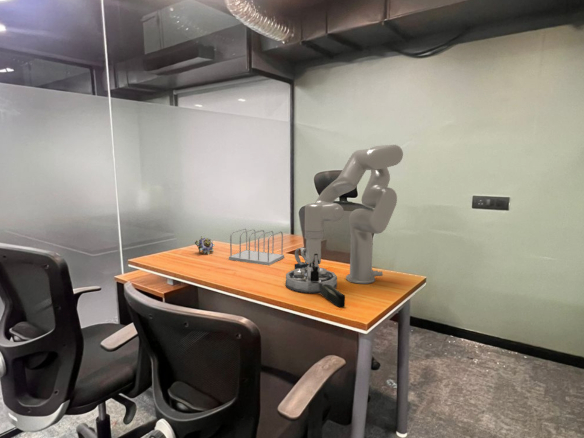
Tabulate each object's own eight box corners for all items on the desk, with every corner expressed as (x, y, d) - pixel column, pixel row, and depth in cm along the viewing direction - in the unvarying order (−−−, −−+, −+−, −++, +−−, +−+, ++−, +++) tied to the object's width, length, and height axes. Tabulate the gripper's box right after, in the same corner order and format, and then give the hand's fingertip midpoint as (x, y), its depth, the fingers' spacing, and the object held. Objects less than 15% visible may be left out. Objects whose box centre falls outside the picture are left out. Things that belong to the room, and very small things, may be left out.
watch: (304, 273, 164) (304, 250, 162) (291, 269, 169) (292, 247, 168) (311, 270, 168) (312, 248, 166) (299, 267, 173) (299, 245, 172)
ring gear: (330, 274, 158) (330, 267, 158) (341, 289, 137) (341, 282, 137) (284, 275, 156) (284, 268, 155) (288, 291, 135) (288, 283, 135)
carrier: (330, 276, 159) (330, 263, 158) (342, 292, 137) (342, 277, 136) (283, 277, 156) (283, 264, 155) (287, 294, 135) (288, 279, 134)
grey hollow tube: (319, 281, 144) (319, 264, 143) (321, 286, 138) (322, 268, 137) (304, 281, 144) (305, 264, 143) (307, 286, 138) (307, 268, 137)
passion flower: (208, 263, 200) (201, 249, 192) (194, 257, 205) (187, 244, 197) (220, 249, 207) (214, 236, 199) (206, 244, 212) (200, 230, 204)
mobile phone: (346, 294, 123) (324, 281, 136) (339, 295, 121) (318, 282, 135) (346, 307, 123) (324, 293, 137) (339, 309, 122) (317, 294, 135)
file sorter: (228, 260, 187) (227, 231, 185) (246, 253, 203) (245, 227, 201) (269, 265, 177) (269, 235, 174) (284, 258, 192) (284, 230, 190)
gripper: (301, 231, 146) (301, 273, 149) (307, 238, 130) (307, 286, 132) (319, 230, 147) (318, 272, 149) (327, 238, 130) (326, 285, 133)
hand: (313, 278), depth 141 cm, fingers closed on grey hollow tube, 4 cm apart
